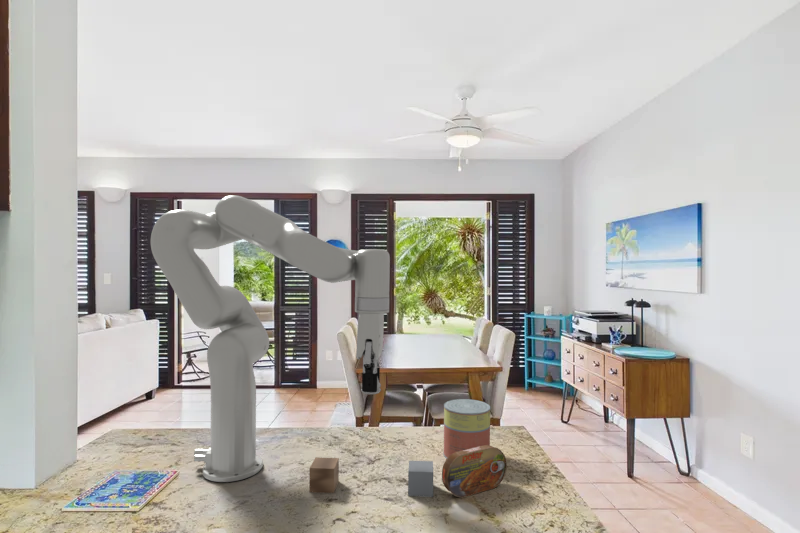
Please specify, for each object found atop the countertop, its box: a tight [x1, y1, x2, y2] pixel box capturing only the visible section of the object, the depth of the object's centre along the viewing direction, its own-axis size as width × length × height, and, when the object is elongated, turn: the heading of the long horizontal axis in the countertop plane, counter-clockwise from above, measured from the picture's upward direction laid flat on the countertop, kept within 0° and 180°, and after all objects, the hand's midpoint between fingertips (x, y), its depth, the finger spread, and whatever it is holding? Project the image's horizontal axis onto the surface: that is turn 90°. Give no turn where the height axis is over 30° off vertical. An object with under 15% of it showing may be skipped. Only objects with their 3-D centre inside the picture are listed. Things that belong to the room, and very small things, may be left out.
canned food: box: [442, 398, 491, 459], centre depth 109 cm, size 11×11×12 cm
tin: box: [441, 445, 508, 499], centre depth 92 cm, size 15×3×8 cm, turn 118°
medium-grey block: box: [407, 460, 434, 498], centre depth 92 cm, size 5×5×5 cm
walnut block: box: [308, 457, 340, 494], centre depth 93 cm, size 5×5×5 cm
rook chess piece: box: [360, 356, 382, 395], centre depth 98 cm, size 4×4×8 cm
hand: (370, 387), depth 98 cm, fingers closed on rook chess piece, 4 cm apart
